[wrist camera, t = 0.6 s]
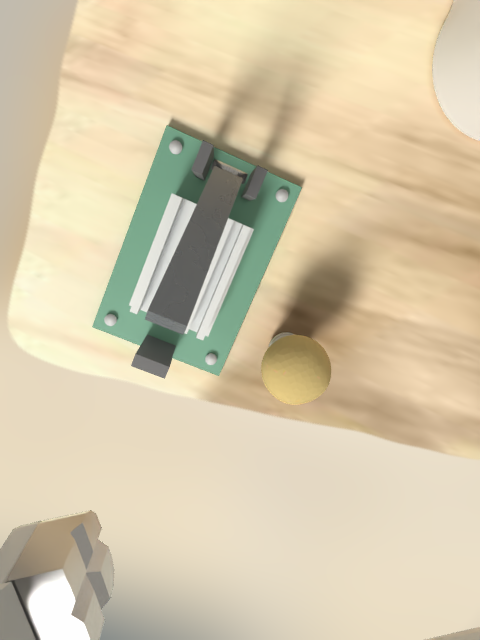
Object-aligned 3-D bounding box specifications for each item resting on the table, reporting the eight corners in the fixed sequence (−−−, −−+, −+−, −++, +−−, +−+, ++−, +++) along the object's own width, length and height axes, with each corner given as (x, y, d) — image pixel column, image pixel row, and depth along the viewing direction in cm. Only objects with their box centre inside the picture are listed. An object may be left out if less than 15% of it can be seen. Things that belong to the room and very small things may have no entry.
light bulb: (246, 332, 48) (253, 363, 38) (302, 309, 47) (323, 334, 38) (268, 384, 49) (280, 426, 39) (322, 362, 49) (348, 399, 39)
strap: (212, 165, 38) (215, 156, 37) (244, 180, 38) (249, 171, 37) (140, 318, 27) (143, 308, 26) (187, 336, 28) (190, 327, 27)
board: (167, 126, 43) (155, 106, 34) (300, 187, 44) (319, 182, 36) (94, 325, 47) (68, 349, 39) (218, 373, 49) (219, 405, 40)
